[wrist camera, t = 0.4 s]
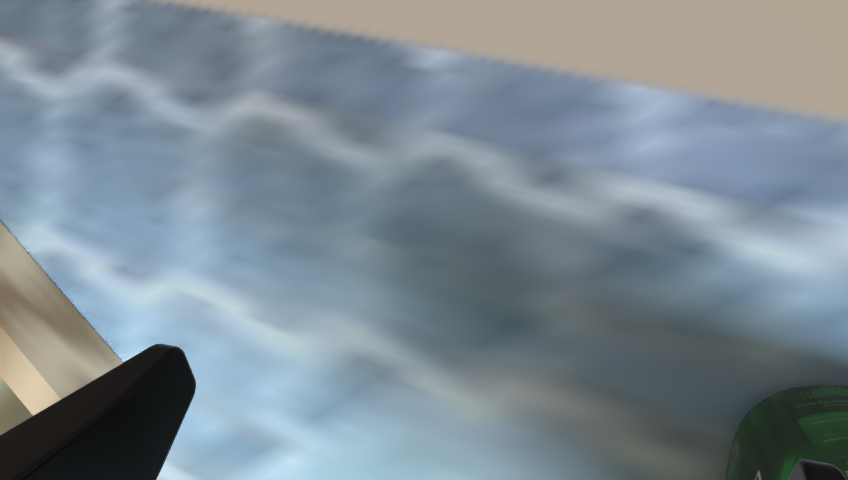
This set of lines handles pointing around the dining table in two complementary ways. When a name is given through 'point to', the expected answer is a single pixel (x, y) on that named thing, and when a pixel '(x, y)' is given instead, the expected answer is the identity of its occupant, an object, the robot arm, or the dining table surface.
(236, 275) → the dining table surface
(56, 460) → the robot arm
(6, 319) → the arena
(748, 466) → the coffee jar
